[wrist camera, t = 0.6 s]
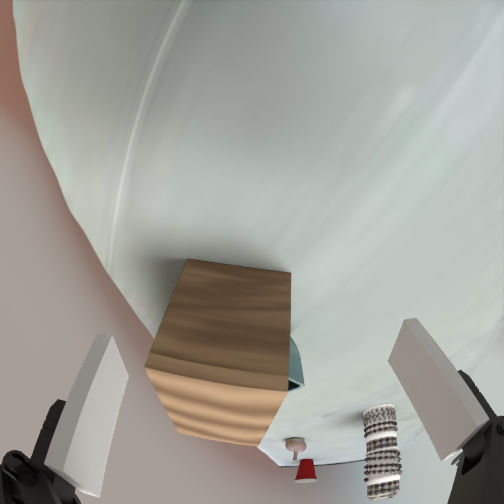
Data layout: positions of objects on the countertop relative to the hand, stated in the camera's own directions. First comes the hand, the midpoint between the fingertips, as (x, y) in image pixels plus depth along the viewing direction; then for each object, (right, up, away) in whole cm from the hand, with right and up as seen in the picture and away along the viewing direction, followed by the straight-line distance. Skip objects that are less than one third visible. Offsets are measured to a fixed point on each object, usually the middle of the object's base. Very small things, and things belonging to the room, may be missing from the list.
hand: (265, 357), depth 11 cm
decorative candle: (+31, -35, +46) cm, 66 cm away
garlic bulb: (+14, -56, +65) cm, 87 cm away
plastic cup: (+25, -91, +90) cm, 131 cm away
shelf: (-3, -6, +28) cm, 28 cm away
